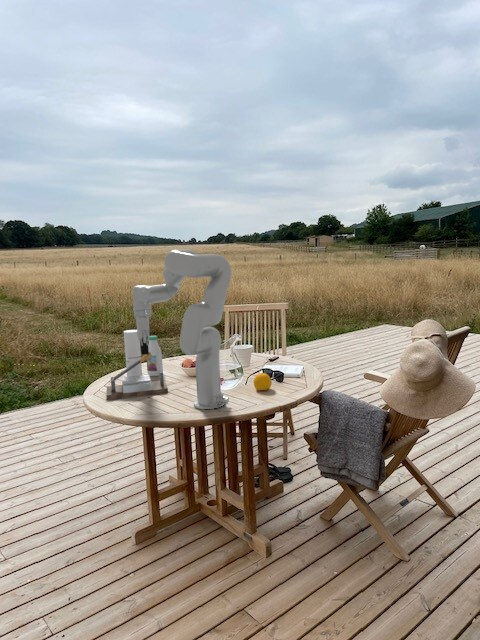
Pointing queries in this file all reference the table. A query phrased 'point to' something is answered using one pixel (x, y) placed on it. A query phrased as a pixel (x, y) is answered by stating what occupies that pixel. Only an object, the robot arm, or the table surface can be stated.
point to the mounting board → (119, 392)
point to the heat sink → (136, 383)
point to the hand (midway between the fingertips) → (144, 353)
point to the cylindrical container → (132, 352)
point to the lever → (132, 366)
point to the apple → (262, 381)
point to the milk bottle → (154, 357)
